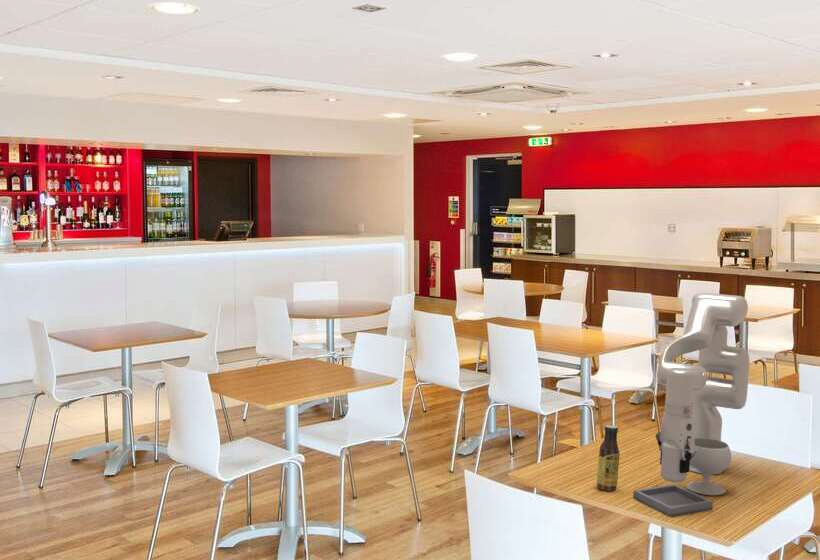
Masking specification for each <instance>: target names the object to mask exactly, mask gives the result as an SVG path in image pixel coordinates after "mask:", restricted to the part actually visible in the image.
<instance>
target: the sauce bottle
mask: <svg viewBox="0 0 820 560" xmlns="http://www.w3.org/2000/svg"><path fill="white" fill-rule="evenodd" d="M618 433H619V427H618V425H612V424H606V425H605V426H604V438H603V439H604V440H603V441H602V442H601V444H600V447H599V453H598V462H597V473H596V475H597V476H596V488H597V489H598V490H601V491H605V492H613V491H615V490H616V489H617V485H618V479H619V478H618V477H619V476H618V475H619V467H620V466H619V465H620V454H621V453H620V450H619V445H618V441H617V440H618Z"/></svg>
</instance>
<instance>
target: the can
mask: <svg viewBox="0 0 820 560" xmlns="http://www.w3.org/2000/svg"><path fill="white" fill-rule="evenodd" d="M675 444H676V443H673V442H669V441H667V440H666V439H665V442H664V443H663V445H662V461H661V464H660V476H661V477H662V479H663V480H665V482H670V483H683V482H684V481H685V480H687V478H688V472H687V473H680V460H681V459H682V457H681V451H680V450H678V448H677V446H676V445H675ZM686 448H687V447H686V446H685V447H684V449H686ZM684 453H685V455H686V453H687V451H684Z"/></svg>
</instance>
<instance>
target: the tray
mask: <svg viewBox="0 0 820 560" xmlns="http://www.w3.org/2000/svg"><path fill="white" fill-rule="evenodd" d="M632 496H633V497H632V499H633V500H636V501H638V502H640V503H642V504H644V505H645V506H647V507H649V508H652V509H653V510H655V511H657V512H660V513H661V514H664V515H665V516H667V517H670V518H671V517H672V518H673V517H679V516H683V515H690V514H693V513H694V514H695V513H701V512H706V511H707V512H708V511H712V510H713V506H714V505H713V504H714V502H713V500H711V499H710V498H709V499H708V498H707V497H704V496H702V495H700V494H699V493H695V492H692V491H690V490H688V489H687V488H685V487H682V486H680V485H679V484H678V485H677V484H675V483H673V484H666V485H660V486H654V487H653V486H652V487H647V488H640V489H634V490H633V495H632Z"/></svg>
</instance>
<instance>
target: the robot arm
mask: <svg viewBox="0 0 820 560" xmlns="http://www.w3.org/2000/svg"><path fill="white" fill-rule="evenodd" d="M748 308H749V307H748V302H747V300H746V298H745V297H744V296H742V295H736V294H735V295H733V294H722V293H711V292H708V293H707V292H704V293H703V292H701V293H696V294H694V296H692V298H691V307H690V311H689V314H688V318H687V322H686V325H685V328H684V332H683V334H682V335H680V336H678V337H677V338H676V339H675V338H674V340H672V342H670V343H669V344H668V345H667V346H666V347H665V349H664V350H663V352H662V354H661V357H660V360H659V363H658V366H657V371H656V373H657V374H656V377H657V378H656V379H657V381H658V383H659V384H660V385H662V386H665V401H664V403H665V404H664V412H663V414H662V419H661V425H660V431H659V432H657V433H656V434H655V438H656V440H657V444H658V450H659V452H660V455H659V457H660V458H659V459H660V460H659V464H660V465H661V461H662V445H663V443H664V442H665V439H666V440H667V441H669V442H673V443H676V444H675V445H676V446H677V448H678V450H680V451H681V457H682V459H681V460H680V473H687V474H688V473H690V471H691V472H693V473H698V474H701V473H700V472H699V471H698V470H697V469H695V468H693V467H692V466H691V465H690V459H692V457H693V456H694V455H695V454H696V452H697V451H698V449H697V447H696V446H695V444H694V441H695V438H709V439H715V440H719V441H722V429H723V418H722V416H721V413H720V411H719V410H718V408H717V407H719V408H726V409H732V410H740V409H743V408H744V407H745V406H746V403H747V398H748V389H749V388H748V387H749V375H750V354H749V352H748V351H747V350H746V349H745V348H742V347H739V346H738V347H737V346H731V345H728V334H729V333H728V328H727V327H732V328H733V327H737V326H738V325H739V324H741V323H742V322H743V321H744V320H745V319H746V317H747V315H748V310H749V309H748ZM693 352H698V364H691V363H690V364H689V363H683V362H674V361H675V360H676V359H677V358H679V357H680V356H683V355H685V354H686V355H687V354H689V353H693ZM708 373H712V374H718V375H719V374H720V375H726V376H731V377H732V379H729V378H723V377H716V376H709V375H708ZM685 446H686V447H687V448H686V449H684V447H685ZM684 451H687V453H686V455H685V453H684ZM724 470H725V469H724ZM724 470H721V471H718V472H716V473H714V474H713V475H718V474H719V475H720V474H722V473H724Z"/></svg>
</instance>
